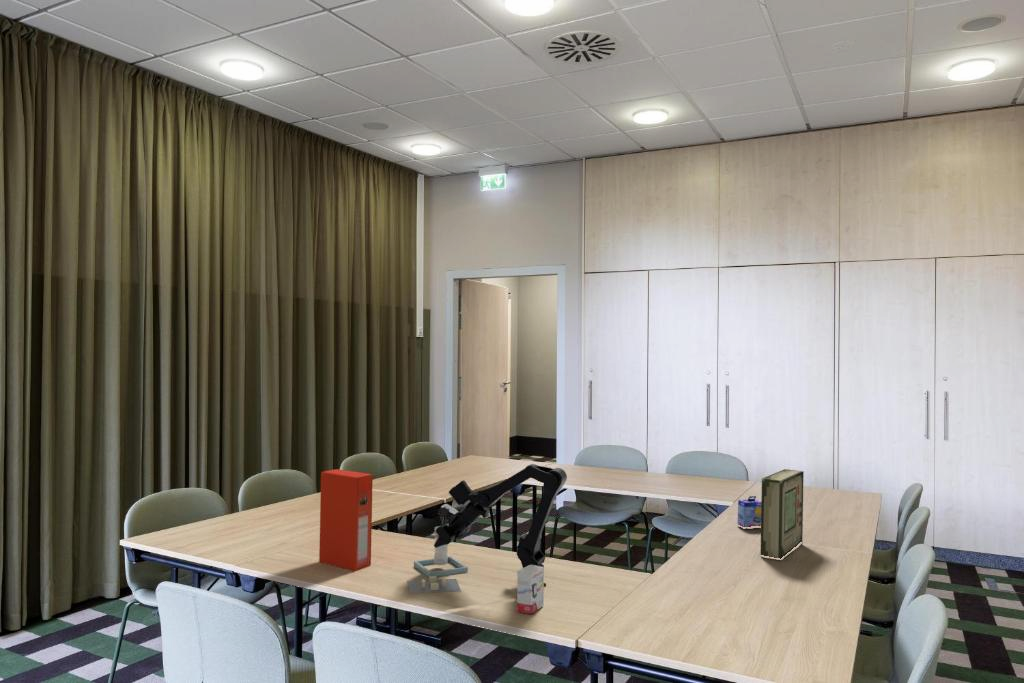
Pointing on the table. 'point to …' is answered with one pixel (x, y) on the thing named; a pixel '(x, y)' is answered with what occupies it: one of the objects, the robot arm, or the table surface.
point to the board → (433, 585)
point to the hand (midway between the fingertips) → (437, 544)
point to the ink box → (530, 589)
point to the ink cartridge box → (749, 512)
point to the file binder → (346, 519)
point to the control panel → (781, 512)
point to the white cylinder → (440, 552)
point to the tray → (429, 562)
